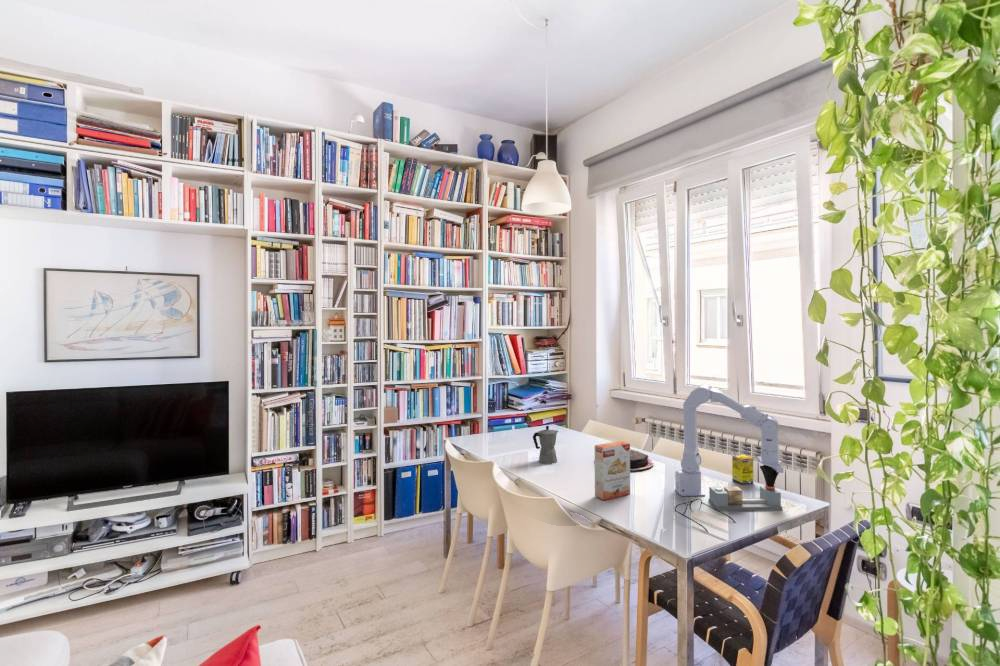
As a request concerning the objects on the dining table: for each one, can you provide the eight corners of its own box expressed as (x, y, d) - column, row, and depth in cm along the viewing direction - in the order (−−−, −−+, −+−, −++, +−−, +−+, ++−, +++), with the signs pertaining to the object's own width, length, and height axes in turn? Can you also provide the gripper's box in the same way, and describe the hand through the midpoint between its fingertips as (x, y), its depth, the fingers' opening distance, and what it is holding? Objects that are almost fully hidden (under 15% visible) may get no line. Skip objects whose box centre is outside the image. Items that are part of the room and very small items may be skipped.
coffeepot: (552, 457, 250) (552, 422, 249) (564, 461, 242) (563, 425, 241) (528, 462, 242) (527, 426, 242) (539, 466, 234) (538, 430, 233)
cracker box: (604, 501, 188) (603, 448, 188) (594, 496, 194) (593, 444, 193) (631, 494, 195) (630, 443, 194) (621, 490, 200) (620, 439, 200)
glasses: (700, 510, 179) (701, 497, 178) (736, 529, 166) (738, 515, 165) (673, 518, 172) (674, 505, 171) (708, 539, 159) (710, 525, 158)
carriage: (728, 503, 179) (728, 490, 179) (724, 499, 183) (723, 486, 183) (742, 503, 179) (742, 490, 179) (737, 499, 183) (737, 486, 183)
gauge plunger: (768, 497, 179) (767, 487, 179) (763, 494, 182) (763, 484, 182) (776, 497, 179) (776, 487, 179) (772, 494, 182) (772, 484, 182)
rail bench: (718, 510, 177) (718, 493, 177) (708, 501, 186) (708, 484, 186) (782, 510, 176) (782, 492, 176) (769, 500, 185) (769, 484, 185)
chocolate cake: (615, 452, 257) (615, 440, 256) (664, 463, 236) (664, 450, 236) (583, 464, 238) (583, 451, 237) (633, 477, 217) (633, 462, 217)
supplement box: (742, 485, 203) (742, 459, 202) (731, 480, 209) (731, 455, 208) (754, 483, 204) (753, 457, 204) (743, 479, 210) (743, 454, 210)
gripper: (791, 455, 173) (792, 492, 173) (770, 444, 187) (770, 479, 187) (771, 455, 173) (772, 493, 173) (751, 444, 187) (752, 479, 188)
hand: (770, 485), depth 180 cm, fingers closed, pressing on gauge plunger
